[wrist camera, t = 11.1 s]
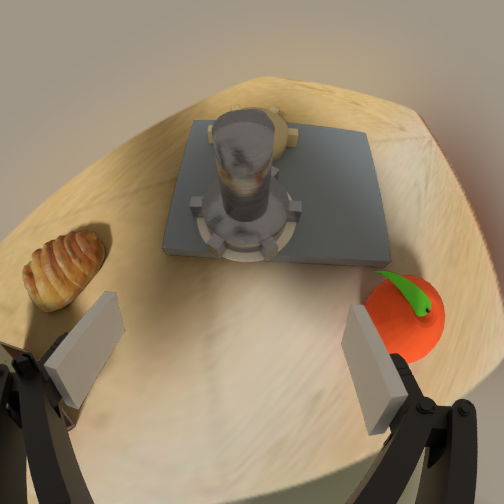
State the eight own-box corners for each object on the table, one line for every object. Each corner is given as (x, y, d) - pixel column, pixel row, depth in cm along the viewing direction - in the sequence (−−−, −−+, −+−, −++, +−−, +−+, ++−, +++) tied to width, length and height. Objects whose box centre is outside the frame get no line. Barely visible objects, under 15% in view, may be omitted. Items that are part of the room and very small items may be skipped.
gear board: (164, 263, 24) (146, 239, 20) (196, 125, 31) (190, 93, 27) (385, 275, 24) (410, 254, 19) (361, 137, 31) (373, 108, 26)
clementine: (325, 313, 23) (353, 291, 16) (378, 265, 24) (414, 231, 18) (380, 382, 20) (425, 383, 14) (427, 329, 22) (476, 312, 15)
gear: (187, 257, 23) (149, 184, 14) (201, 175, 26) (182, 90, 17) (299, 263, 23) (328, 191, 13) (297, 179, 26) (314, 93, 17)
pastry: (95, 222, 26) (78, 203, 23) (118, 272, 24) (100, 257, 21) (34, 270, 24) (13, 258, 21) (51, 323, 22) (28, 315, 19)
